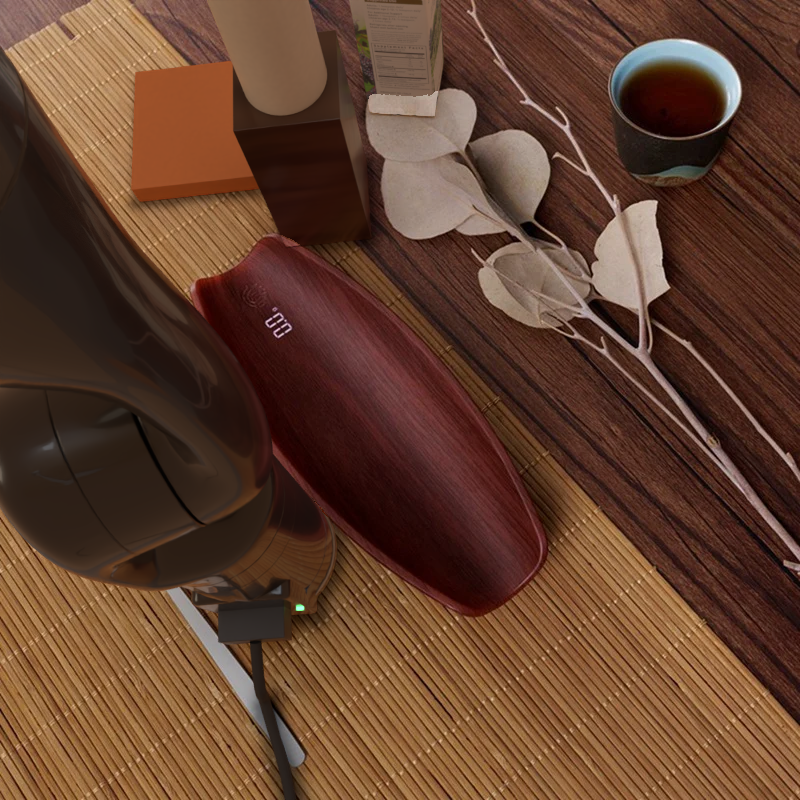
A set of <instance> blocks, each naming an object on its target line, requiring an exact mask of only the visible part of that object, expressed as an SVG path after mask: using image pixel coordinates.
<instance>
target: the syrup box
mask: <svg viewBox="0 0 800 800" xmlns="http://www.w3.org/2000/svg"><path fill="white" fill-rule="evenodd" d="M348 2H349V8H350V12H351V19H352V25H353V30H354V36H355V41H356V47H357V53H358V57H359V63H360V68H361V75H362V79H363V86H364V91H365V96H366V97H365V98H366V101H367V103H368V99H369V96H370V95H372V94H381V95H383V94H385V95H389V94H390V95H396V96H399V95H401V96H413V97H416V96H423V95H427V94H428V96H430V95H432V94H433V93H434V92H435V91H439V92H440V88H441V82H442V77H443V69H444V64H445V58H444V57H445V53H444V52H445V51H444V37H443V36H444V35H443V19H442V18H443V16H442V0H348Z"/></svg>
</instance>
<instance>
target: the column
mask: <svg viewBox="0 0 800 800" xmlns="http://www.w3.org/2000/svg"><path fill="white" fill-rule="evenodd" d="M317 35H318V39H319V42H320V46H321V50H322V54H323V58H324V61H325V65H326V69H327V81H326V85H325V88H324V90H323V92H322V94H321V95H320V97H319V98H318V99H317V100H316V101H315V102H314V103H313V104H312V105H311V106H309V107H308V108H306V109H304V110H303V111H300V112H298V113H295V114H291V115H283V116H278V115H270V114H267V113H264V112H262V111H260V110H258V109H256V108H255V107H254V106H253V105H252V104H251V103H250V102H249V101H248V99H247V98H246V96H245V93H244V91H243V89H242V86H241V84H240V81H239V79H238V76H237V74H236V71H235V69H234V66H233V132H234V134H235V136H236V139H237V141H238V143H239V145H240V147H241V150H242V152H243V154H244V156H245V158H246V161H247V163H248V165H249V167H250V169H251V172H252V174H253V176H254V178H255V181H256V183H257V185H258V187H259V189H258V190H259V191H260V194H261V196H262V198H263V200H264V203H265V205H266V207H267V209H268V211H269V213H270V216H271V218H272V220H273V222H274V225H275V227H276V228H277V231H278V233H279V236H280V235H283V236H285V237H287V238H290V239H292V240H294V241H295V242H297V243H298V244H300V245H302V246H301V247H305V246H314V245H325V244H326V245H327V244H334V243H336V244H337V243H344V242H354V241H363V240H371V239H372V223H371V221H372V220H371V207H370V190H369V189H370V188H369V173H368V162H367V158H366V153H365V149H364V145H363V141H362V136H361V132H360V128H359V124H358V123H359V122H358V119H357V115H356V110H355V106H354V102H353V97H352V93H351V89H350V86H349V80H348V76H347V72H346V68H345V63H344V60H343V55H342V51H341V47H340V41H339V38H338V34H337V29H333V30H332V29H331V30H324V31H323V30H322V31H317Z"/></svg>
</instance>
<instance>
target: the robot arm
mask: <svg viewBox="0 0 800 800" xmlns="http://www.w3.org/2000/svg"><path fill="white" fill-rule="evenodd" d="M241 364H242V363H240V361H239V359H238V358H237V356H236V355H235V353H233V351H232V349H231V348H230V347H229V346H228V344H227V343H226V342H225V340H224V339H223V338H222V337H221V336H220V334H219V333H218V332H217V331H216V330H215V328H214V327H213V326H212V325H211V323H210V322H208V320H207V319H206V317H204V315H202V313H201V312H200V311H199V310H198V309H197V307H195V305H194V304H192V302H191V301H190V300H189V299H188V298H187V297H186V296H185V295H184V294H183V293H182V292H181V290H180V289H178V287H177V286H176V285H175V284H174V282H172V281H171V280H170V278H168V276H167V275H166V274H165V273H164V272H163V271H162V270H161V268H159V267H158V265H157V264H155V262H154V261H153V260H152V259H151V258H150V257H149V256H148V254H146V252H145V251H144V250H143V249H142V248H141V246H139V244H138V243H137V242H136V240H135V239H134V238H133V237H132V236H131V234H130V233H129V232H128V231H127V229H126V228H125V227H124V225H123V223H121V221H120V220H119V218H118V217H117V216H116V214H115V213H114V212H113V210H112V209H111V208H110V206H109V205H108V203H107V201H106V200H105V199H104V197H103V196H102V194H101V192H99V190H98V188H97V187H96V185H95V184H94V183H93V181H92V179H90V177H89V176H88V174H87V172H86V171H85V170H84V168H83V166H82V165H81V164H80V162H79V161H78V159H77V157H76V156H75V155H74V153H73V151H72V150H71V149H70V148H69V146H68V144H67V143H66V141H65V140H64V138H63V136H62V135H61V133H60V132H59V130H58V129H57V127H56V126H55V124H54V123H53V121H52V120H51V118H50V117H49V115H48V114H47V112H46V111H45V110H44V108H43V107H42V105H41V104H40V102H39V100H38V99H37V97H36V96H35V95H34V93H33V92H32V90H31V89H30V87H29V85H28V84H27V82H26V81H25V79H24V78H23V76H22V75H21V73H20V72H19V70H18V69H17V67H16V65H15V64H14V62H13V61H12V60H11V58H10V57H9V55H8V54H7V53H6V51H5V50H4V48H3V47H2V46H1V45H0V510H1V512H2V514H3V515H4V516H5V518H6V519H7V521H8V522H9V523H10V525H11V526H12V527H13V528H14V529H15V531H16V532H17V533H18V534H19V535H20V537H22V539H23V540H24V541H25V542H26V543H27V544H28V545H29V546H31V547H32V548H33V549H34V550H35V551H36V552H38V553H39V554H40V555H41V556H42V557H43V558H45V559H46V560H48V561H49V562H50V563H52V564H53V565H55V566H57V567H58V568H60V569H62V570H64V571H66V572H67V573H69V574H72V575H75V576H77V577H80V578H82V579H85V580H87V581H88V580H89V581H93V582H97V583H100V584H104V585H105V584H106V585H111V586H115V587H116V586H117V587H120V588H127V589H130V590H131V589H132V590H137V591H142V592H151V593H152V592H165V591H169V590H174V589H177V588H184V589H186V590H189V591H191V604H192V605H193V606H194V607H197V608H199V609H202V610H205V611H208V612H211V613H214V614H217V642H218V643H219V644H223V645H227V646H230V645H243V644H244V645H245V644H249V649H250V663H251V676H252V683H253V689H254V694H255V696H256V699H257V701H258V704H259V706H260V710H261V714H262V718H263V721H264V724H265V728H266V731H267V734H268V737H269V741H270V744H271V748H272V750H273V754H274V757H275V761H276V765H277V769H278V774H279V778H280V782H281V786H282V791H283V792H282V793H283V797H284V798H283V799H284V800H297V795H296V788H295V784H294V780H293V778H294V777H293V775H292V771H291V766H290V763H289V759H288V756H287V752H286V749H285V745H284V743H283V740H282V736H281V733H280V729H279V726H278V722H277V719H276V714H275V711H274V708H273V704H272V701H271V698H270V694H269V692H268V691H267V686H266V679H265V669H264V667H265V666H264V654H263V643H269V642H271V643H272V642H273V643H274V642H285V641H286V642H287V641H292V640H293V632H292V631H293V629H292V628H293V627H292V616H298V615H299V616H302V615H313V614H315V613H317V611H318V598H319V596H320V595H321V594H322V593H323V592H324V590H325V588H326V587H327V585H328V584H329V582H330V580H331V578H332V576H333V573H334V570H335V566H336V563H337V557H338V543H337V536H336V531H335V529H334V526H333V523H332V521H331V519H330V517H329V516H328V517H327V516H326V515H325V514H324V513H323V512H322V510H321V509H320V508H319V506H318V505H317V504H316V503H315V502H314V500H315V499H314V498H313V497H311V496H310V495H309V494H308V492H307V491H306V490H305V489H304V488H303V487H302V486H301V484H300V483H299V482H298V481H297V479H295V477H294V476H293V475H292V474H291V473H290V472H289V470H288V469H287V468H286V467H285V466H284V465H283V463H281V461H280V460H279V459H278V457H277V456H276V455H275V454H274V449H273V448H274V446H273V439H272V434H271V428H270V423H269V419H268V417H267V413H266V411H265V409H264V406H263V404H262V401H261V399H260V397H259V395H258V393H257V390H256V388H255V386H254V384H253V382H252V380H251V379H250V377H249V375H248V374H247V372H246V370H245V369H244V367H243V365H241ZM312 498H313V499H314V500H313V499H312Z"/></svg>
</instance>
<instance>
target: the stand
mask: <svg viewBox="0 0 800 800" xmlns="http://www.w3.org/2000/svg"><path fill="white" fill-rule="evenodd" d="M132 125H133V127H132V151H131V152H132V154H131V156H132V157H131V182H130V183H131V184H130V190H131V191H132V193H133V194H134V196H135V198H137V200H138V201H139V202H140V203H142V202H150V201H161V200H170V199H178V198H188V197H197V196H205V195H215V194H224V193H233V192H243V191H250V190H251V191H252V190H260V189H259V187H258V185H257V183H256V181H255V178H254V176H253V174H252V172H251V169H250V167H249V165H248V163H247V161H246V158H245V156H244V154H243V152H242V150H241V147H240V145H239V143H238V141H237V139H236V136H235V134H234V132H233V64H232V62H231V60H226V61H217V62H209V63H201V64H192V65H183V66H175V67H167V68H158V69H150V70H143V71H142V70H141V71H135V73H134V97H133V124H132Z"/></svg>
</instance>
